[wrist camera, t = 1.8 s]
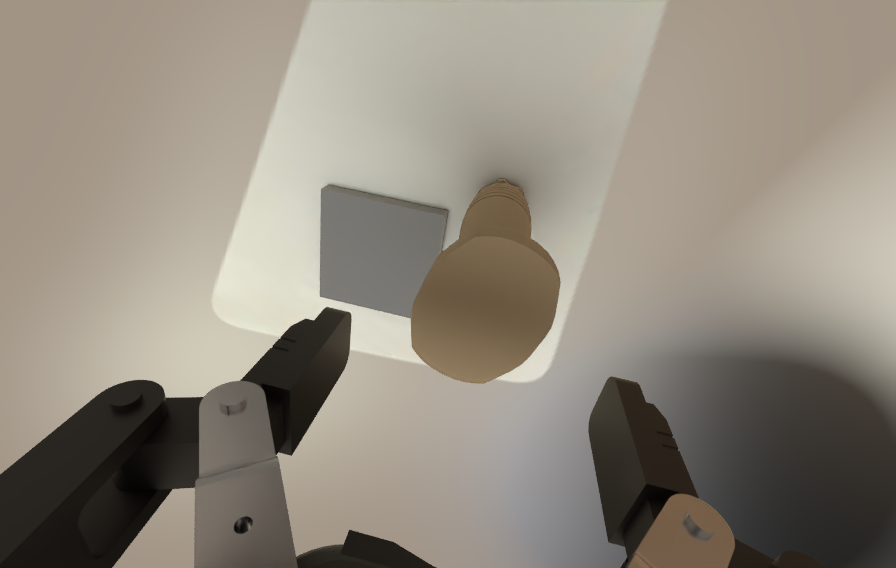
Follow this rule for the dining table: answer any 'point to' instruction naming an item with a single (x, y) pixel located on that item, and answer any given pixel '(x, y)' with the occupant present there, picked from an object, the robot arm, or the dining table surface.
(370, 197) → the plate
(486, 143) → the dining table surface
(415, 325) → the handle
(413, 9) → the dining table surface
